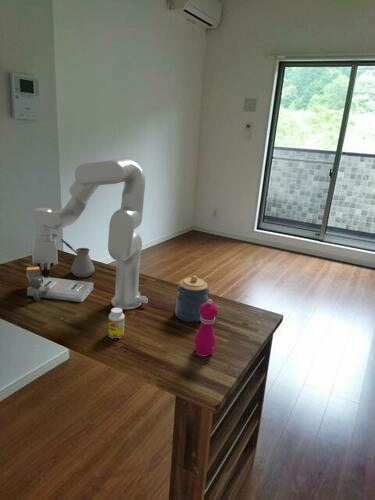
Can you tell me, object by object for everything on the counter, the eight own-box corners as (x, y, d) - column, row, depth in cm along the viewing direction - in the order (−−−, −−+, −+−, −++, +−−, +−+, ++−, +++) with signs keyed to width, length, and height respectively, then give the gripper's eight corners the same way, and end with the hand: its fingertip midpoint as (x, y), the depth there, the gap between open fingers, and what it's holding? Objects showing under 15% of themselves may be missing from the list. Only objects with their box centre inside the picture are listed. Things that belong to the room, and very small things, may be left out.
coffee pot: (99, 274, 187) (100, 245, 182) (82, 280, 177) (82, 251, 173) (70, 263, 197) (69, 236, 192) (52, 269, 187) (51, 240, 183)
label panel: (93, 288, 170) (93, 282, 169) (82, 302, 157) (82, 294, 155) (42, 282, 172) (42, 275, 170) (27, 295, 158) (26, 288, 157)
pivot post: (41, 299, 156) (41, 285, 154) (38, 301, 154) (38, 287, 152) (36, 298, 156) (35, 284, 154) (33, 300, 154) (32, 287, 152)
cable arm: (43, 290, 153) (43, 280, 151) (30, 291, 151) (30, 281, 149) (39, 274, 167) (38, 265, 166) (27, 276, 165) (26, 266, 163)
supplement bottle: (104, 335, 134) (105, 309, 131) (117, 329, 138) (117, 304, 135) (114, 341, 130) (115, 315, 127) (127, 335, 134) (128, 310, 131)
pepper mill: (213, 346, 133) (219, 295, 126) (215, 358, 126) (221, 304, 120) (193, 345, 132) (198, 294, 126) (194, 357, 125) (199, 303, 119)
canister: (209, 311, 158) (213, 273, 152) (202, 326, 146) (206, 284, 140) (180, 306, 161) (183, 267, 155) (170, 319, 149) (173, 278, 143)
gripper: (62, 234, 164) (63, 273, 170) (25, 234, 159) (28, 274, 165) (63, 239, 158) (64, 279, 163) (24, 240, 153) (26, 281, 158)
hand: (45, 276), depth 164 cm, fingers closed
